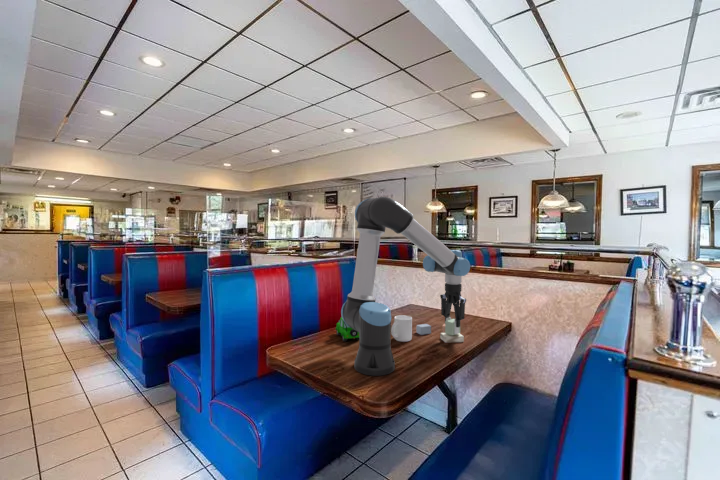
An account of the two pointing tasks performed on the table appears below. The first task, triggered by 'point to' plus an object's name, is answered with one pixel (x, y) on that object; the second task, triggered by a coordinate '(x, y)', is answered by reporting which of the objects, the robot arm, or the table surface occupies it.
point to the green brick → (450, 327)
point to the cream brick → (451, 337)
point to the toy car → (346, 331)
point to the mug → (402, 328)
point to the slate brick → (423, 329)
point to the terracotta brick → (443, 328)
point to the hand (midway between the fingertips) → (452, 332)
